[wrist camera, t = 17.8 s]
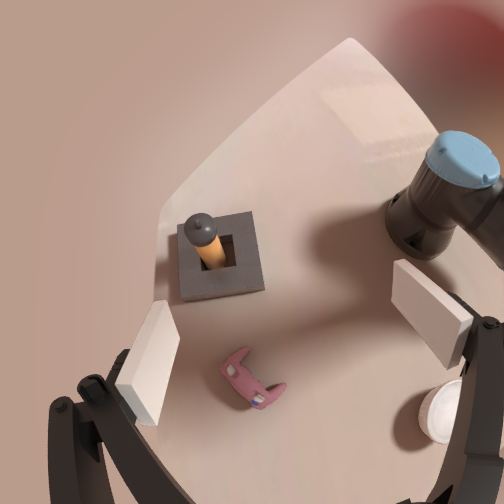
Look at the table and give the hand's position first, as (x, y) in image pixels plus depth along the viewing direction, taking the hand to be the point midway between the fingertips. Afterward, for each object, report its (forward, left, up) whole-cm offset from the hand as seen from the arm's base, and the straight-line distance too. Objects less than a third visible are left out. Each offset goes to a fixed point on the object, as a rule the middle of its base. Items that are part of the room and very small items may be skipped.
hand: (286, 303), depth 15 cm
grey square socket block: (+8, -18, -32) cm, 37 cm away
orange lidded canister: (+9, -18, -32) cm, 37 cm away
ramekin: (-26, +18, -32) cm, 45 cm away
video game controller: (+5, +4, -32) cm, 33 cm away
